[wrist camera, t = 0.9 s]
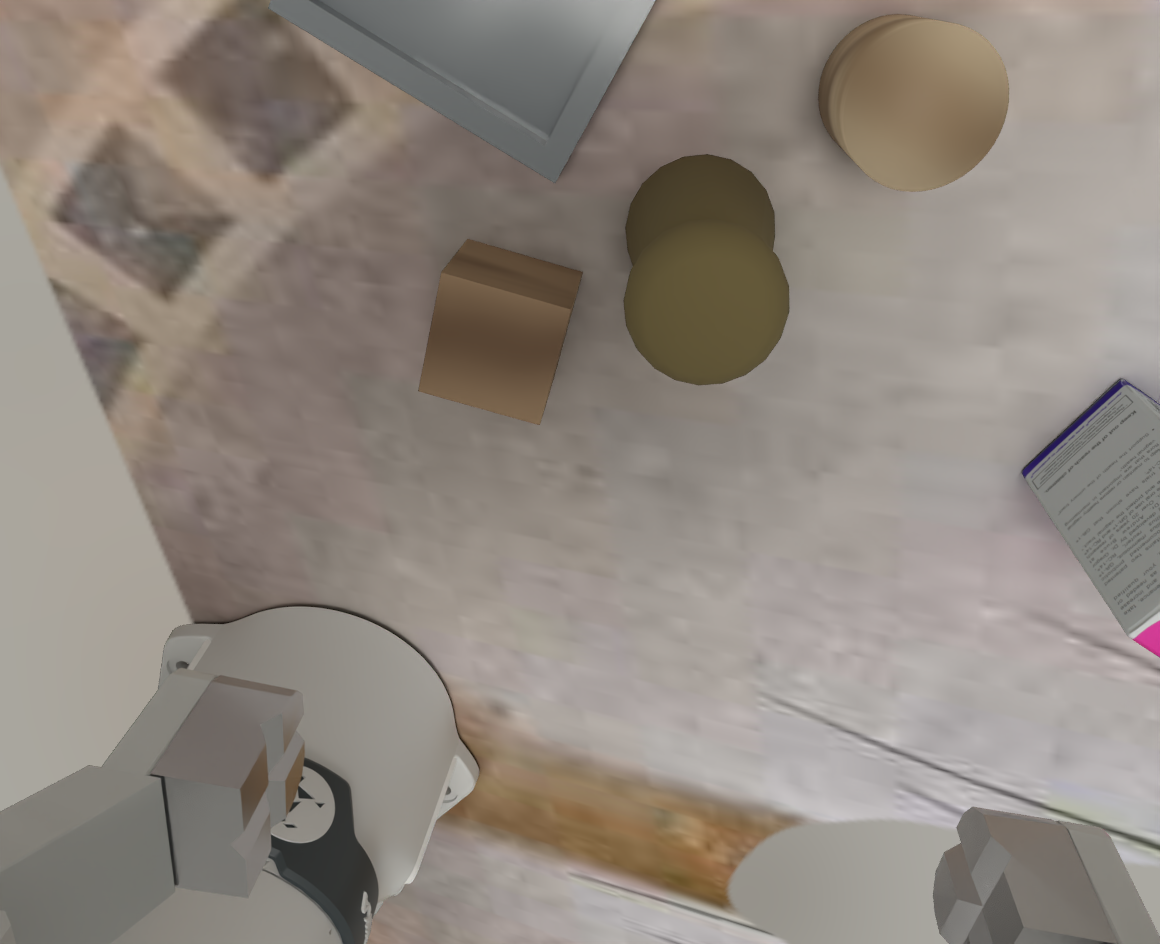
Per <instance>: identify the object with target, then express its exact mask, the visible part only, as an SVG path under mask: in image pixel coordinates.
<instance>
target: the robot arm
mask: <svg viewBox="0 0 1160 944" xmlns="http://www.w3.org/2000/svg"><path fill="white" fill-rule="evenodd" d="M186 662H187V663H188V664H187V663H186ZM478 777H479V768H478V765H477V763H476V761H475V760H474V758H473V756H472V755H471V754H470V752H469V751H468V749H467V748H466V747H465V745H464V744H463V743H462V741H461V740H460V739H459V736H458V733H457V730H456V725H455V719H454V713H453V708H452V704H451V701H450V698H449V696H448V693H447V691H446V689H445V687H444V685H443V683H442V682H441V680H440V678H439V677H438V675H437V674H436V672H435V671H434V670H433V669H432V667H431V666H430V665H429V664H428V663H427V661H426V660H425V659H424V658H423V657H422V656H421V655H420V654H419V653H418V652H416V651H415V650H414V649H413V648H412V647H411V646H409V645H408V644H407V643H406V642H404V641H403V640H401V639H400V638H399V637H397V636H396V635H394V634H392V633H391V632H389V631H387V630H386V629H384V628H382V627H380V626H378V625H376V624H374V623H372V622H369V621H367V620H364V619H362V618H359V617H356V616H353V615H350V614H347V613H343V612H340V611H335V610H330V609H324V608H316V607H283V608H276V609H270V610H266V611H262V612H259V613H256V614H253V615H250V616H248V617H245V618H243V619H240V620H238V621H234V622H231V623H227V624H187V625H182V626H179V627H177V628H175V629H174V630H173V631H172V633H171V634H170V636H169V638H168V640H167V641H166V643H165V646H164V651H163V657H162V664H161V672H160V679H159V686H158V690H157V692H156V693H155V695H154V696H153V697H152V699H151V700H150V701H149V703H148V704H147V705H146V707H145V708H144V710H143V711H142V712H141V714H140V715H139V717H138V718H137V719H136V721H135V722H134V723H133V725H132V726H131V727H130V729H129V730H128V731H127V733H126V734H125V735H124V737H123V738H122V740H121V741H120V742H119V744H118V745H117V746H116V748H115V749H114V750H113V752H112V753H111V755H110V756H109V757H108V759H107V760H106V761H105V763H104V764H103V766H102V767H96V766H90V765H89V766H87V767H85V768H83V769H81V770H79V771H77V772H75V773H73V774H71V775H69V776H67V777H66V778H64V779H62V780H60V781H58V782H56V783H54V784H52V785H50V786H48V787H47V788H45V789H43V790H41V791H39V792H37V793H35V794H33V795H31V796H29V797H27V798H26V799H24V800H22V801H20V802H18V803H16V804H14V805H12V806H10V807H8V808H6V809H5V810H3V811H1V812H0V944H366V943H367V941H368V938H369V935H370V932H371V925H372V919H373V916H374V915H375V914H376V913H377V912H378V910H379V909H380V907H381V906H382V904H383V902H384V900H385V899H387V898H389V897H390V896H397V895H398V894H399V893H400V892H401V891H402V889H403V888H404V886H405V884H410V883H412V882H413V880H414V878H415V877H416V875H417V873H418V870H419V868H420V865H421V862H422V860H423V857H424V854H425V851H426V848H427V845H428V843H429V840H430V837H431V834H432V831H433V828H434V825H435V823H436V820H437V819H438V818H440V817H441V816H442V815H443V814H445V813H446V812H447V811H448V810H450V809H451V808H452V807H453V806H455V805H456V804H457V803H458V802H459V801H461V800H462V799H463V798H464V797H466V796H467V795H468V794H469V793H471V791H472V790H473V789H474V787H475V784H476V782H477V779H478ZM956 828H957V831H958V834H959V837H960V840H961V843H960V844H958V845H957V846H955V847H953V848H951V849H949V850H948V851H946V852H944V854H943V856H942V858H941V861H940V863H939V866H938V868H937V870H936V873H935V882H934V891H933V899H934V910H935V916H936V920H937V925H938V929H939V933H940V934H941V936H942V937H943V938H944V939H945V940H946V941H947V942H948V943H949V944H1160V936H1159V934H1158V932H1157V930H1156V928H1155V926H1154V924H1153V922H1152V920H1151V918H1150V916H1149V914H1148V912H1147V910H1146V908H1145V906H1144V904H1143V902H1142V900H1141V898H1140V896H1139V894H1138V892H1137V890H1136V888H1135V886H1134V883H1133V881H1132V879H1131V878H1130V876H1129V874H1128V871H1127V870H1126V867H1125V865H1124V863H1123V861H1122V859H1121V857H1120V855H1119V853H1118V851H1117V849H1116V847H1115V845H1114V843H1113V841H1112V839H1111V838H1110V836H1109V835H1108V834H1107V833H1106V832H1105V831H1104V830H1103V829H1102V828H1100V827H1094V826H1088V825H1082V824H1076V823H1069V822H1063V821H1053V820H1051V819H1045V818H1039V817H1033V816H1027V815H1021V814H1015V813H1008V812H1002V811H996V810H990V809H984V808H978V807H971V808H970V809H969V810H967V811H966V812H965V813H964V814H963V816H962V818H961V820H960V822H959V824H958V825H957V827H956Z"/></svg>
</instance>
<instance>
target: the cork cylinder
mask: <svg viewBox="0 0 1160 944" xmlns="http://www.w3.org/2000/svg"><path fill="white" fill-rule="evenodd" d="M818 101H819V110H820V114H821V118H822V121H823V124H824V126H825V128H826V130H827V131H828V133H829V134H830V136H831V137H832V139H833V140H834V141H835V142H836V143H837V144H838V145H839V146H840V147H841V148H842V149H843V150H844V151H845V152H846V153H847V155H848V156H849V157H850V158H851V159H852V160H853V161H854V162H855V163H856V164H857V165H858V166H859V167H860V168H861V169H862V170H863V172H864V173H865V174H866V175H868V176H869V177H870V178H872V179H873V180H874V181H876V182H878V183H880V184H881V185H883V186H886V187H889V188H891V189H896V190H900V191H910V192H915V191H926V190H931V189H935V188H938V187H942V186H944V185H947V184H949V183H951V182H953V181H955V180H957V179H958V178H960V177H962V176H963V175H965V174H966V173H967V172H969V171H970V170H972V169H973V168H974V167H975V166H976V165H977V164H978V163H979V162H980V161H981V160H982V159H983V158H984V157H985V155H986V154H987V153H988V152H989V150H990V149H991V147H992V146H993V145H994V143H995V141H996V139H997V138H998V136H999V134H1000V132H1001V129H1002V127H1003V124H1004V121H1005V118H1006V114H1007V110H1008V103H1009V84H1008V77H1007V73H1006V69H1005V66H1004V64H1003V62H1002V59H1001V57H1000V56H999V54H998V52H997V51H996V49H995V48H994V47H993V46H992V45H991V43H990V42H989V41H988V40H987V39H985V38H984V37H983V36H982V35H981V34H979V33H977V32H976V31H974V30H972V29H970V28H967V27H965V26H962V25H959V24H954V23H950V22H944V21H938V20H933V19H927V18H922V17H916V16H911V15H902V14H894V15H886V16H881V17H877V18H875V19H872V20H869V21H867V22H865V23H863V24H861V25H860V26H858V27H857V28H855V29H854V30H852V31H851V32H850V33H849V34H848V35H846V36H845V37H844V38H843V39H842V40H841V42H840V43H839V44H838V45H837V46H836V48H835V49H834V50H833V52H832V53H831V55H830V57H829V59H828V60H827V62H826V65H825V67H824V69H823V72H822V76H821V79H820V85H819V94H818Z"/></svg>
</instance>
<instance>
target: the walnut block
mask: <svg viewBox="0 0 1160 944" xmlns="http://www.w3.org/2000/svg"><path fill="white" fill-rule="evenodd" d="M582 273H583V272H581V271H577V270H574V269H570V268H567V267H563V266H560V265H557V264H553V263H550V262H546V261H543V260H539V259H536V258H532V257H529V256H525V255H522V254H519V253H515V252H512V251H508V250H505V249H501V248H498V247H494V246H491V245H487V244H484V243H480V242H477V241H474V240H470V239H467V240H466V242H465V243H464V244H463V245H462V247H461V248H460V249H459V250H458V252H457V253H456V254H455V256H454V257H453V258H452V259H451V261H450V262H449V263H448V264H447V266H446V267H445V268H444V270H443V271H442V272H441V276H440V282H439V287H438V292H437V297H436V302H435V307H434V313H433V318H432V323H431V328H430V333H429V338H428V343H427V349H426V354H425V359H424V364H423V369H422V374H421V380H420V385H419V390H418V391H419V392H423V393H427V394H430V395H434V396H437V397H441V398H444V399H448V400H452V401H455V402H459V403H462V404H466V405H469V406H473V407H477V408H480V409H484V410H487V411H491V412H494V413H498V414H502V415H505V416H509V417H512V418H516V419H519V420H523V421H526V422H530V423H534V424H537V425H540V423H541V419H542V416H543V413H544V409H545V406H546V403H547V399H548V396H549V393H550V390H551V386H552V383H553V380H554V376H555V372H556V369H557V365H558V361H559V358H560V354H561V350H562V347H563V343H564V339H565V336H566V332H567V328H568V325H569V321H570V317H571V314H572V310H573V306H574V303H575V299H576V295H577V292H578V288H579V284H580V281H581V277H582Z"/></svg>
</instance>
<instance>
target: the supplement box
mask: <svg viewBox="0 0 1160 944" xmlns="http://www.w3.org/2000/svg"><path fill="white" fill-rule="evenodd" d="M1022 474H1023V476H1024V478H1025V479H1026V481H1027V483H1028V484H1029V486H1030V488H1031V489H1032V491H1033V492H1034V493H1035V495H1036V497H1037V498H1038V500H1039V501H1040V503H1041V504H1042V506H1043V508H1044V509H1045V511H1046V512H1047V514H1048V515H1049V517H1050V518H1051V520H1052V521H1053V523H1054V524H1055V526H1056V527H1057V529H1058V531H1059V532H1060V534H1061V535H1062V537H1063V538H1064V540H1065V541H1066V543H1067V544H1068V546H1069V547H1070V549H1071V550H1072V552H1073V554H1074V555H1075V557H1076V558H1077V560H1078V561H1079V563H1080V564H1081V565H1082V567H1083V569H1084V570H1085V572H1086V573H1087V575H1088V576H1089V578H1090V579H1091V581H1092V582H1093V584H1094V586H1095V587H1096V589H1097V590H1098V592H1099V593H1100V595H1101V596H1102V598H1103V599H1104V601H1105V602H1106V604H1107V605H1108V607H1109V608H1110V610H1111V612H1112V613H1113V615H1114V616H1115V618H1116V619H1117V621H1118V622H1119V624H1120V625H1121V627H1122V628H1123V630H1124V632H1125V633H1126V635H1127V636H1128V637H1129V638H1131V639H1133V640H1134V641H1136V642H1137V643H1138V644H1140V645H1141V646H1143V647H1144V648H1146V649H1147V650H1149V651H1150V652H1152V653H1154V654H1155V655H1157V656H1158V657H1160V404H1158V403H1157V402H1156V401H1154V400H1153V399H1151V398H1150V397H1149V396H1147V395H1146V394H1144V393H1143V392H1142V391H1140V390H1139V389H1137V388H1136V387H1134V386H1133V385H1131V384H1130V383H1128V382H1127V381H1126V380H1124V379H1120V380H1119V381H1118V382H1117V383H1116V384H1114V385H1113V386H1112V387H1111V388H1110V389H1109V390H1108V391H1107V392H1106V393H1104V394H1103V395H1102V396H1101V397H1100V398H1099V399H1098V400H1097V401H1096V402H1095V403H1094V404H1093V405H1092V406H1091V407H1090V408H1089V409H1088V410H1087V411H1085V412H1084V413H1083V414H1082V415H1081V416H1080V417H1079V418H1078V419H1077V420H1076V421H1075V422H1074V423H1073V424H1072V425H1071V426H1070V427H1068V428H1067V429H1066V430H1065V431H1064V432H1063V433H1062V434H1061V435H1060V436H1059V437H1058V438H1056V439H1055V440H1054V441H1053V442H1052V443H1051V444H1050V445H1049V446H1048V447H1046V448H1045V449H1044V450H1043V451H1042V452H1041V453H1040V454H1039V455H1038V456H1037V457H1036V458H1035V459H1034V460H1033V461H1032V462H1031V463H1030V464H1029V465H1027V466H1026V467H1025V469H1024V470H1023V472H1022Z"/></svg>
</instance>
